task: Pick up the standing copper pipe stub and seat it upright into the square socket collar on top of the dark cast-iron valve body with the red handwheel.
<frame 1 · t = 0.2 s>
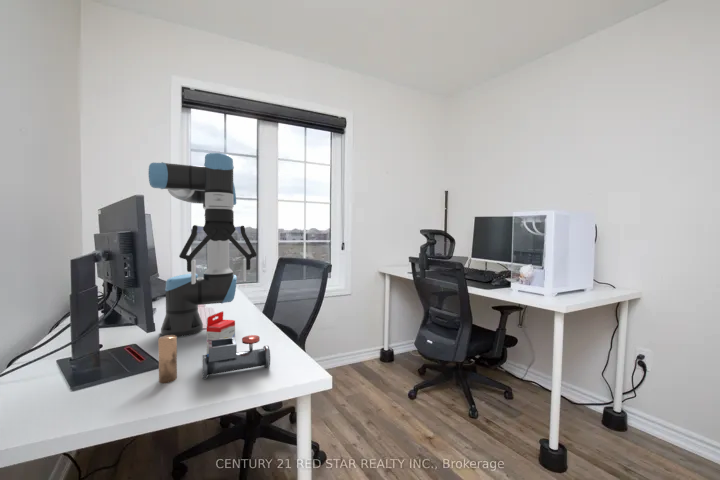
hand: (219, 282, 93), 27 cm above the table, fingers open, 13 cm apart
valve body: (236, 371, 96), on the table
ink box: (221, 359, 105), on the table
pipe stub: (168, 379, 90), on the table
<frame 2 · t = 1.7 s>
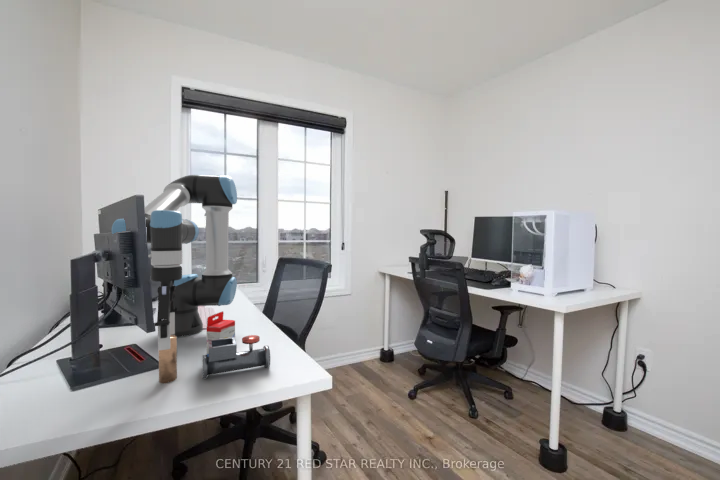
hand: (167, 341, 90), 11 cm above the table, fingers open, 13 cm apart
nothing on the table moved.
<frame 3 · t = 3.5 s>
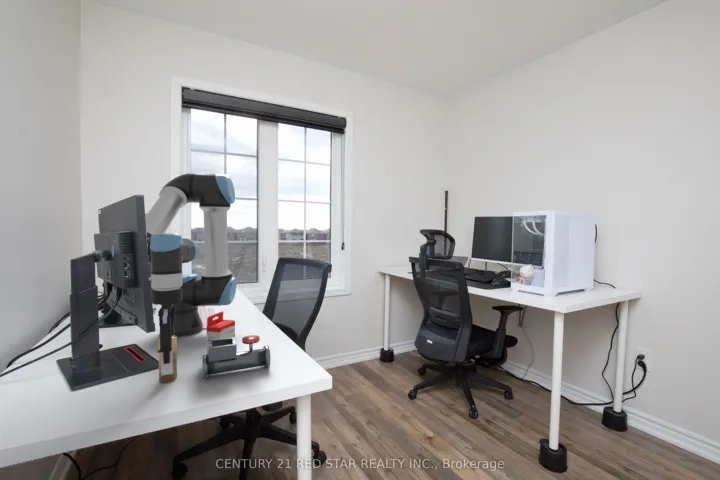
hand: (168, 370, 90), 3 cm above the table, fingers closed on pipe stub, 4 cm apart
pipe stub: (168, 379, 90), on the table, touching gripper
everything else where it was.
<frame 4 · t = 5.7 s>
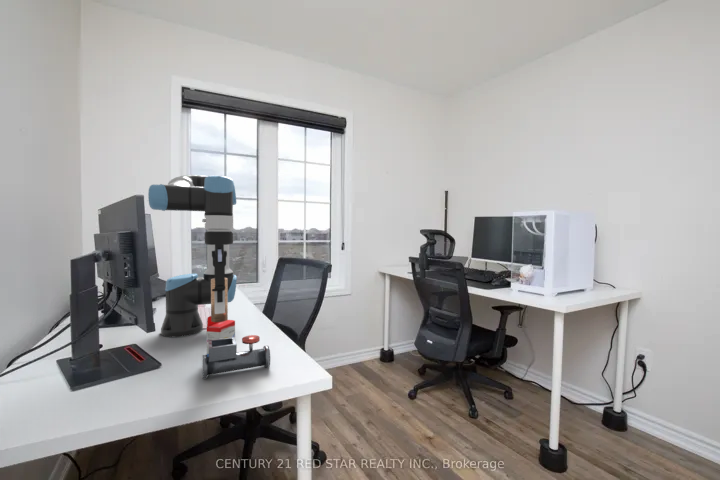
hand: (219, 311, 93), 19 cm above the table, fingers closed on pipe stub, 4 cm apart
pipe stub: (219, 320, 93), point 16 cm above the table, touching gripper
everything else where it was.
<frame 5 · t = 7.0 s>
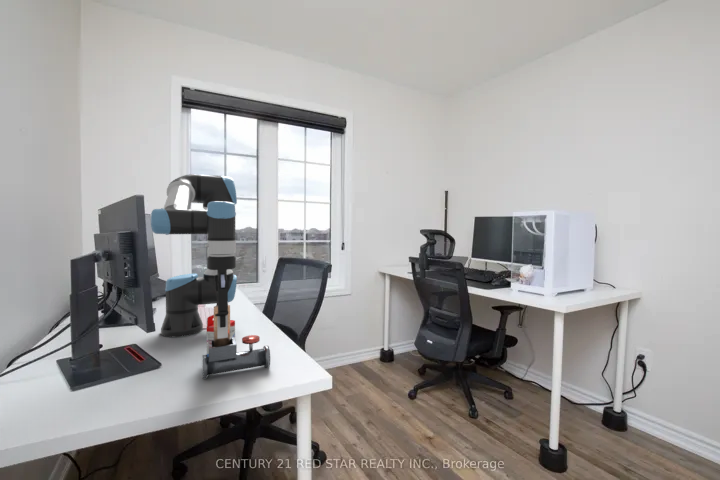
hand: (222, 334, 93), 12 cm above the table, fingers closed on pipe stub, 4 cm apart
pipe stub: (222, 347, 93), point 8 cm above the table, touching gripper
everything else where it was.
when the fingers open (11 cm above the table, at t = 7.9 s): pipe stub stays where it is, resting on valve body.
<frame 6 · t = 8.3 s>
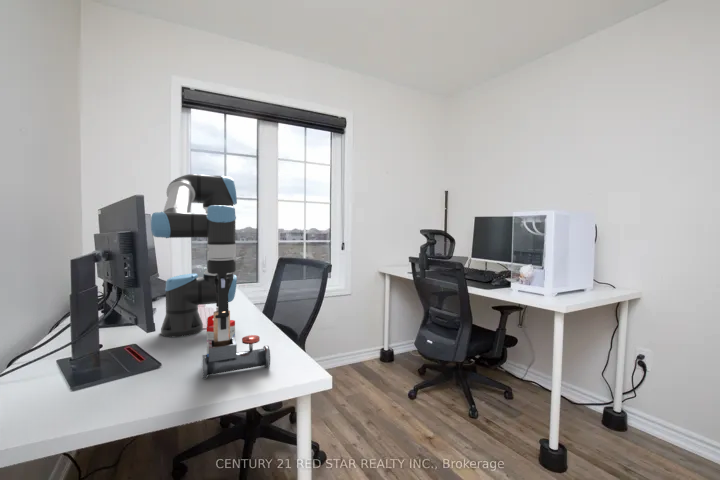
hand: (222, 334, 93), 12 cm above the table, fingers open, 11 cm apart
pipe stub: (222, 352, 94), point 7 cm above the table, touching valve body
everything else where it was.
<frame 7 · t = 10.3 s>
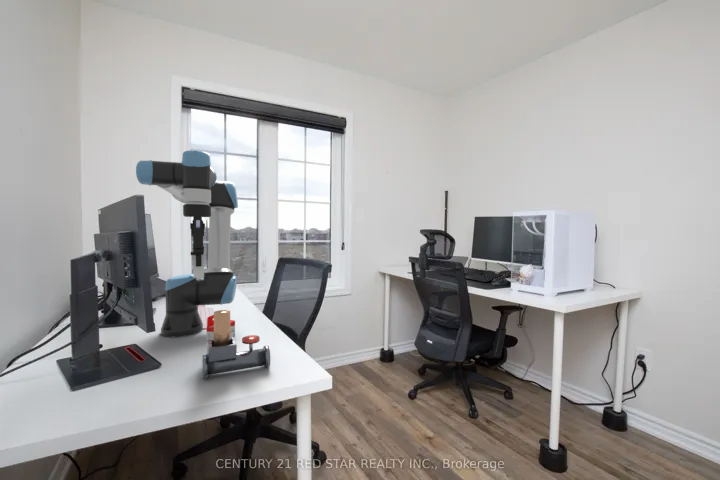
hand: (198, 273, 98), 29 cm above the table, fingers open, 13 cm apart
nothing on the table moved.
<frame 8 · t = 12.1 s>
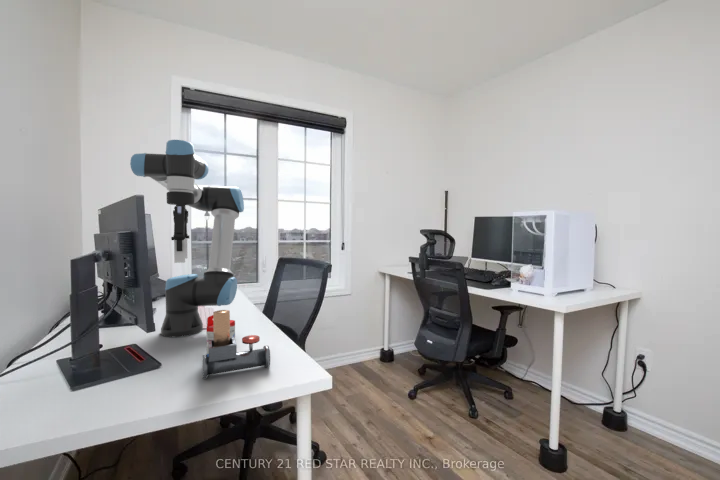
hand: (181, 260, 100), 33 cm above the table, fingers open, 13 cm apart
nothing on the table moved.
at the end: pipe stub 0.0 cm from the target spot on the valve body, point 6.5 cm above the valve body's base; pipe stub tilted 1°; the gripper is holding nothing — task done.
